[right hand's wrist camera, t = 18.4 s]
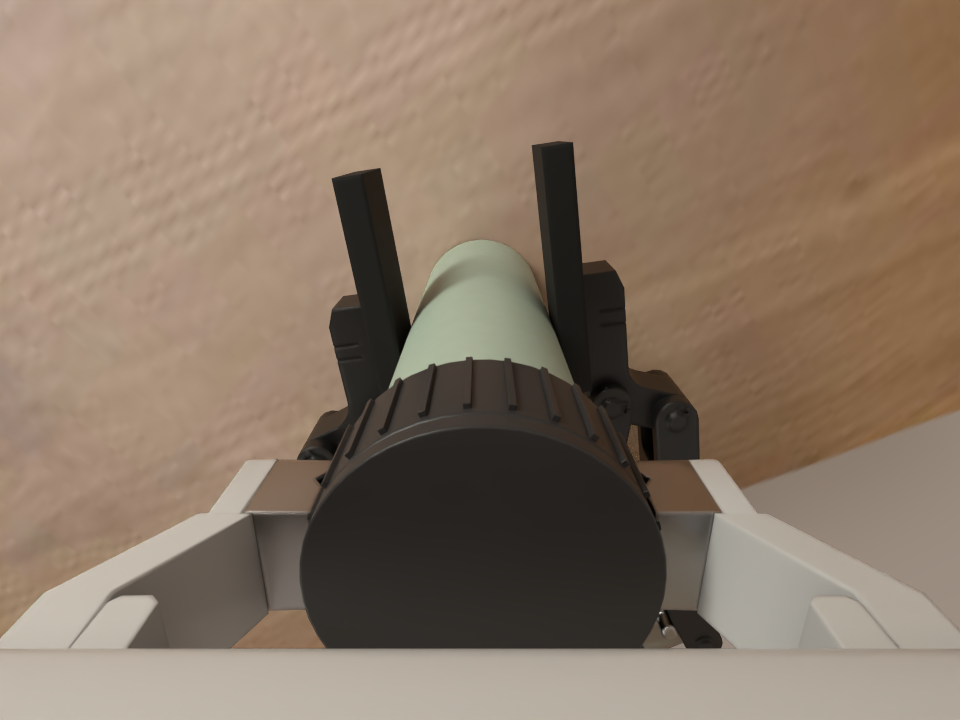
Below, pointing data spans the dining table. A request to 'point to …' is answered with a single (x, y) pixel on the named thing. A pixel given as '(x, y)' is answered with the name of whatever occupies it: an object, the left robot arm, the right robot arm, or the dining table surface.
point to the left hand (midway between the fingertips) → (453, 160)
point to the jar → (481, 314)
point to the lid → (482, 520)
